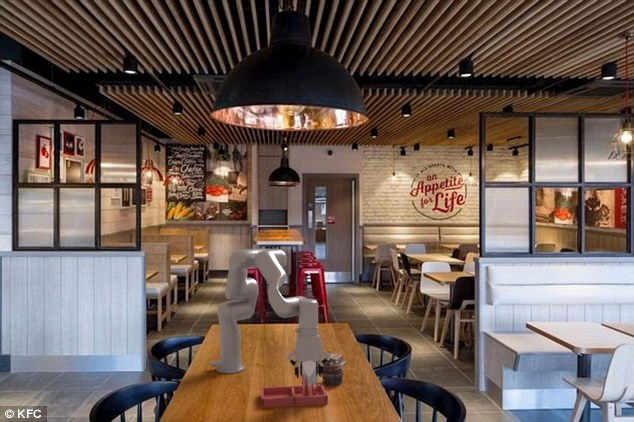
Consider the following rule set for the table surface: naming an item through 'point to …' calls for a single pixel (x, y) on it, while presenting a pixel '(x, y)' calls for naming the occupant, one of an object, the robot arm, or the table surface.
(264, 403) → the tray
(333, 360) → the cupcake
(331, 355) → the packaged product
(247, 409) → the table surface
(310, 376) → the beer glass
